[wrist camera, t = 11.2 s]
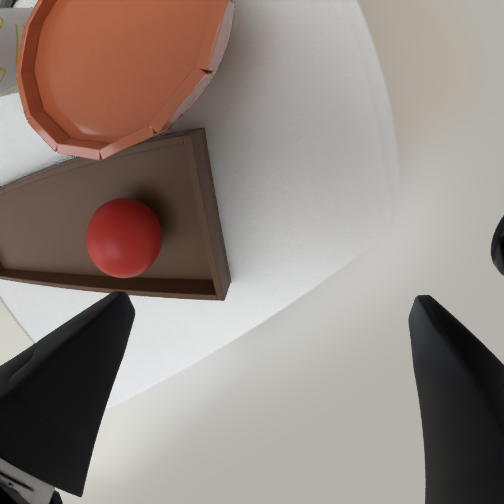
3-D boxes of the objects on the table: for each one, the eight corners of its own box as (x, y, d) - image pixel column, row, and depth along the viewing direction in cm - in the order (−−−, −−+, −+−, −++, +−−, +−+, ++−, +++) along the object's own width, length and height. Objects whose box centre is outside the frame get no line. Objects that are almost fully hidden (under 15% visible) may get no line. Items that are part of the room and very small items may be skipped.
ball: (190, 227, 20) (138, 272, 16) (157, 263, 24) (113, 304, 19) (139, 171, 19) (79, 201, 15) (114, 215, 23) (66, 248, 18)
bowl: (296, 32, 13) (295, -6, 7) (169, 163, 19) (110, 206, 13) (162, -49, 9) (106, -84, 3) (69, 75, 16) (-2, 89, 9)
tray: (204, 127, 18) (191, 133, 15) (231, 281, 25) (224, 300, 22) (-24, 199, 25) (-35, 207, 23) (6, 269, 32) (-3, 278, 30)
